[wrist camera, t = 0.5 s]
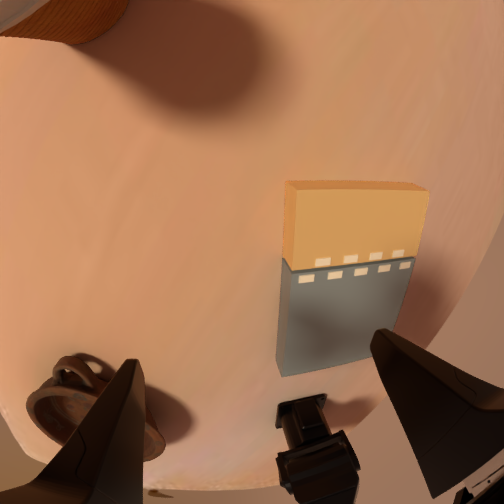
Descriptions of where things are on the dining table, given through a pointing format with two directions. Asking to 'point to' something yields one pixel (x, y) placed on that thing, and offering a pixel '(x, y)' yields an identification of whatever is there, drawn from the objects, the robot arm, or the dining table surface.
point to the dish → (77, 405)
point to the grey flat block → (337, 312)
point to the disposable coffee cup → (59, 19)
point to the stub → (351, 222)
